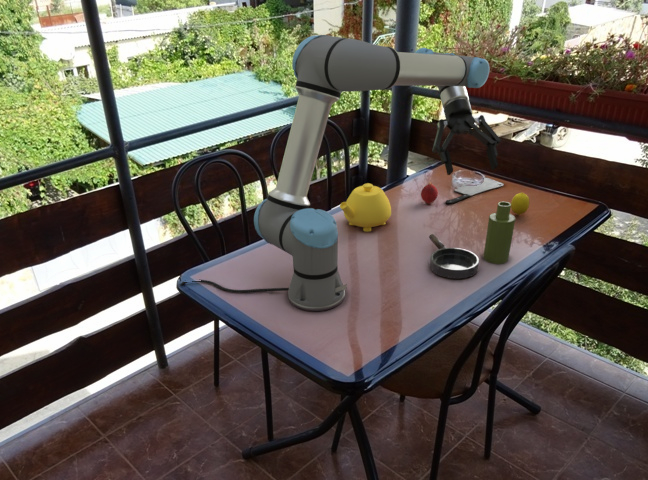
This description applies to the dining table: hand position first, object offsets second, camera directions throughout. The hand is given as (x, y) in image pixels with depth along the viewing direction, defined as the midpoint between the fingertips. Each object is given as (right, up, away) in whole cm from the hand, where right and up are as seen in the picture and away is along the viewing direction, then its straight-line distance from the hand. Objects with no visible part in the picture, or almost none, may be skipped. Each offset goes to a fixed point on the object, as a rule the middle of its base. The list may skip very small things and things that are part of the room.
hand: (472, 170), depth 160 cm
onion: (-3, -3, +38) cm, 38 cm away
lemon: (+24, -9, +25) cm, 36 cm away
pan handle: (-8, -21, +8) cm, 24 cm away
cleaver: (+13, +3, +45) cm, 47 cm away
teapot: (-28, -13, +26) cm, 40 cm away
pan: (-6, -28, -1) cm, 29 cm away
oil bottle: (+7, -25, +2) cm, 26 cm away
